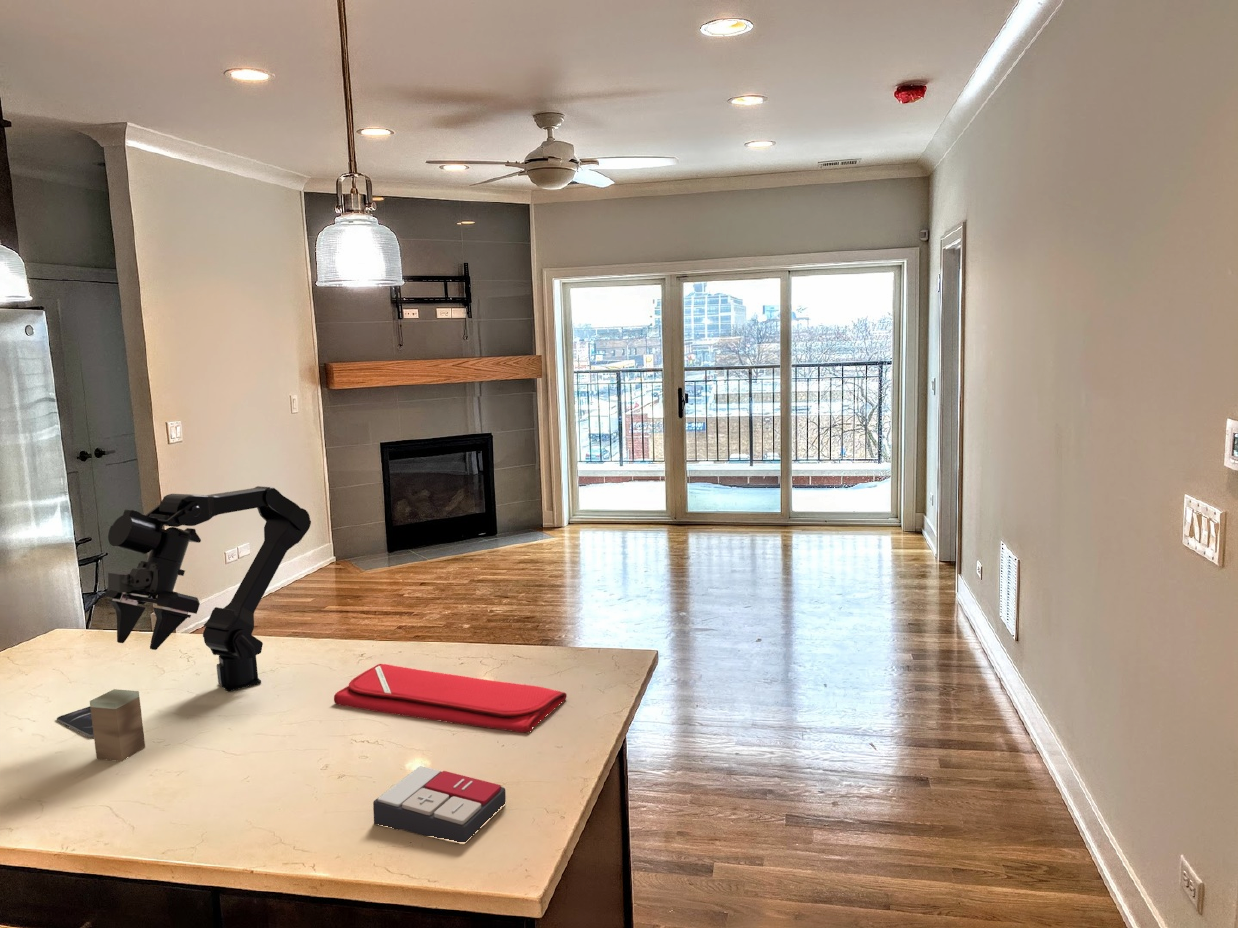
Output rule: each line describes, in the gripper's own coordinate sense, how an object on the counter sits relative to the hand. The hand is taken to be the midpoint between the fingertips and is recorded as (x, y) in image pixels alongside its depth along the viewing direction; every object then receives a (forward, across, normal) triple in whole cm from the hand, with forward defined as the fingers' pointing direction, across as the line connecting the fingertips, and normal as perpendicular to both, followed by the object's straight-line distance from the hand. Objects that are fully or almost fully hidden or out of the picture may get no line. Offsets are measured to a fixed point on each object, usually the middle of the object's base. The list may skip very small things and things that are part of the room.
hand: (136, 646), depth 154 cm
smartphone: (+15, -10, +4) cm, 18 cm away
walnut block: (+17, +7, -1) cm, 19 cm away
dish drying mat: (0, +45, +34) cm, 56 cm away
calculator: (+15, +69, +5) cm, 70 cm away
